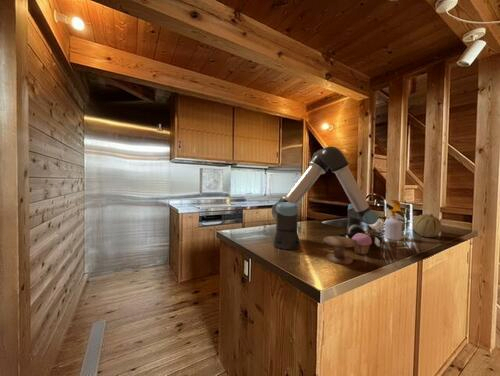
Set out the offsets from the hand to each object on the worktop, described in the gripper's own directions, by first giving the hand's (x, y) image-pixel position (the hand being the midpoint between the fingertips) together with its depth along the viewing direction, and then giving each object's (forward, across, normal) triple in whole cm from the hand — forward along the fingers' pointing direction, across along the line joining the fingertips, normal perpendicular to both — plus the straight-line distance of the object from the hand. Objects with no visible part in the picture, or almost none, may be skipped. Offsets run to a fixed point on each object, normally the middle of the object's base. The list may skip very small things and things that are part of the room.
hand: (363, 242), depth 106 cm
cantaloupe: (-52, -45, -6) cm, 69 cm away
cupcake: (-1, 0, -6) cm, 6 cm away
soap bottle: (-40, -23, -6) cm, 46 cm away
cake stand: (+12, +12, -6) cm, 18 cm away
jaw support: (-59, -21, -6) cm, 63 cm away
